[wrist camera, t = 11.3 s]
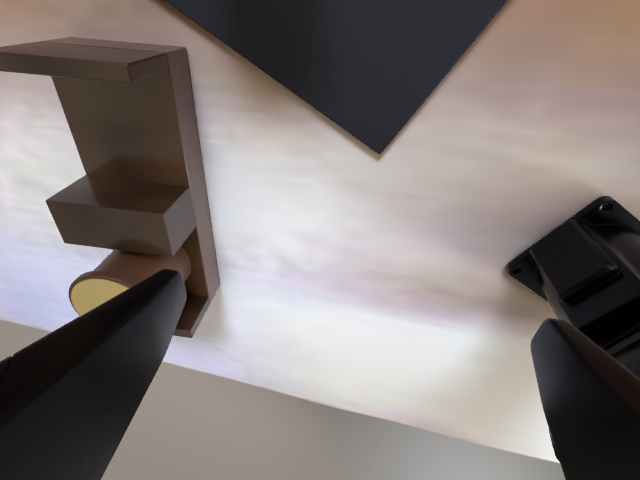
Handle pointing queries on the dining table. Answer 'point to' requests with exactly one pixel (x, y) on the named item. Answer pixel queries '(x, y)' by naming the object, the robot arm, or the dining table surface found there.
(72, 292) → the cylinder
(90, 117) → the pod rack
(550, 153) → the dining table surface
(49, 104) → the dining table surface
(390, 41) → the mat
